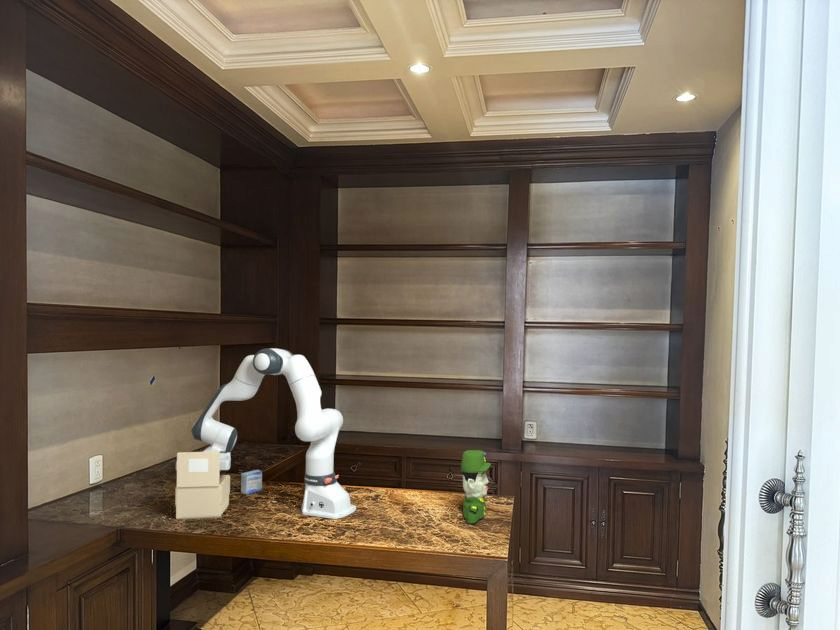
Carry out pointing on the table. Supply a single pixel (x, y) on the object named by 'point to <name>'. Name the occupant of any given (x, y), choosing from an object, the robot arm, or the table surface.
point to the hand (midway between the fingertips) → (197, 469)
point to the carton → (202, 500)
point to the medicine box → (251, 481)
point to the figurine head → (474, 484)
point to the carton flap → (198, 469)
